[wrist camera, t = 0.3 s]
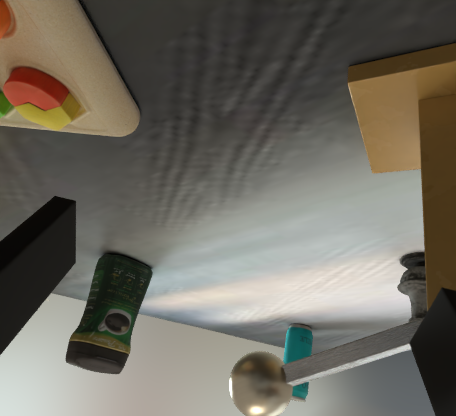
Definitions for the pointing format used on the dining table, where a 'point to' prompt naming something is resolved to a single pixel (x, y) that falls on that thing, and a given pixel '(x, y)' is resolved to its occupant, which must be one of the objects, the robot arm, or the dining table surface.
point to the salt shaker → (414, 284)
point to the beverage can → (298, 354)
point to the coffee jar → (109, 315)
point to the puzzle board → (59, 72)
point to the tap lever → (306, 369)
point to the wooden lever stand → (416, 141)
